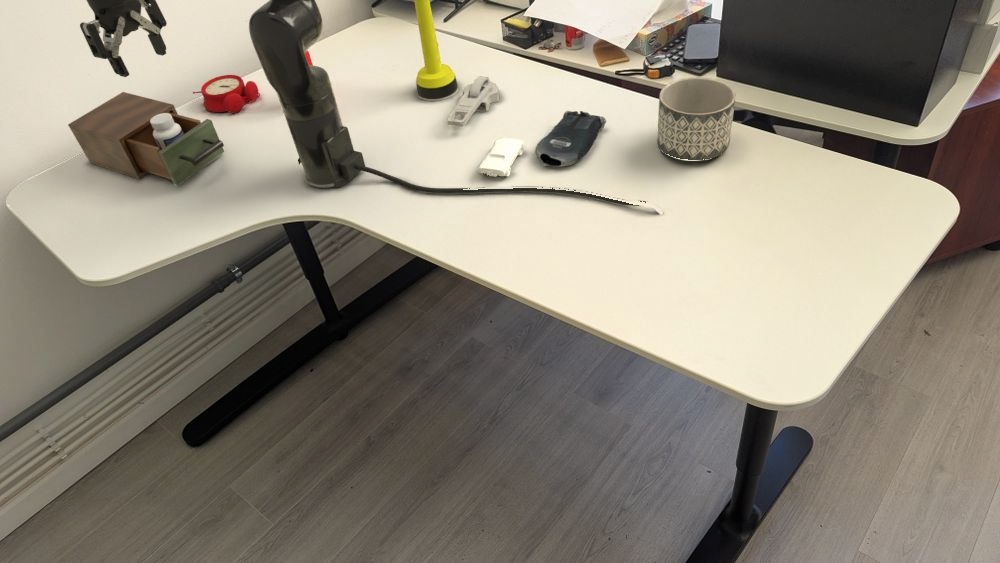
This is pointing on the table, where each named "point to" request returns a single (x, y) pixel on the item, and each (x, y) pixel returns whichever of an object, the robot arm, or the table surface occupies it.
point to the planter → (695, 118)
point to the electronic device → (570, 139)
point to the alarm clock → (228, 93)
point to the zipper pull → (474, 100)
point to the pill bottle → (165, 130)
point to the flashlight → (432, 60)
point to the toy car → (501, 157)
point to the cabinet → (116, 130)
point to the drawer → (176, 149)
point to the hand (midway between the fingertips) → (143, 64)
